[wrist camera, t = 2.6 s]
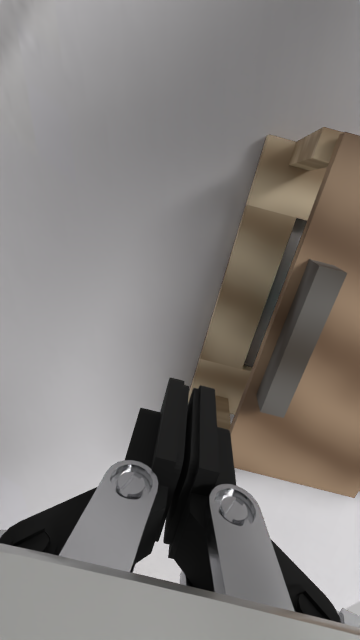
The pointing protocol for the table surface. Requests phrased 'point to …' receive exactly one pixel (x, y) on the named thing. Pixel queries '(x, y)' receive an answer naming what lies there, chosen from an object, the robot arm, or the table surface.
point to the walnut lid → (312, 350)
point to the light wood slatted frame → (259, 259)
